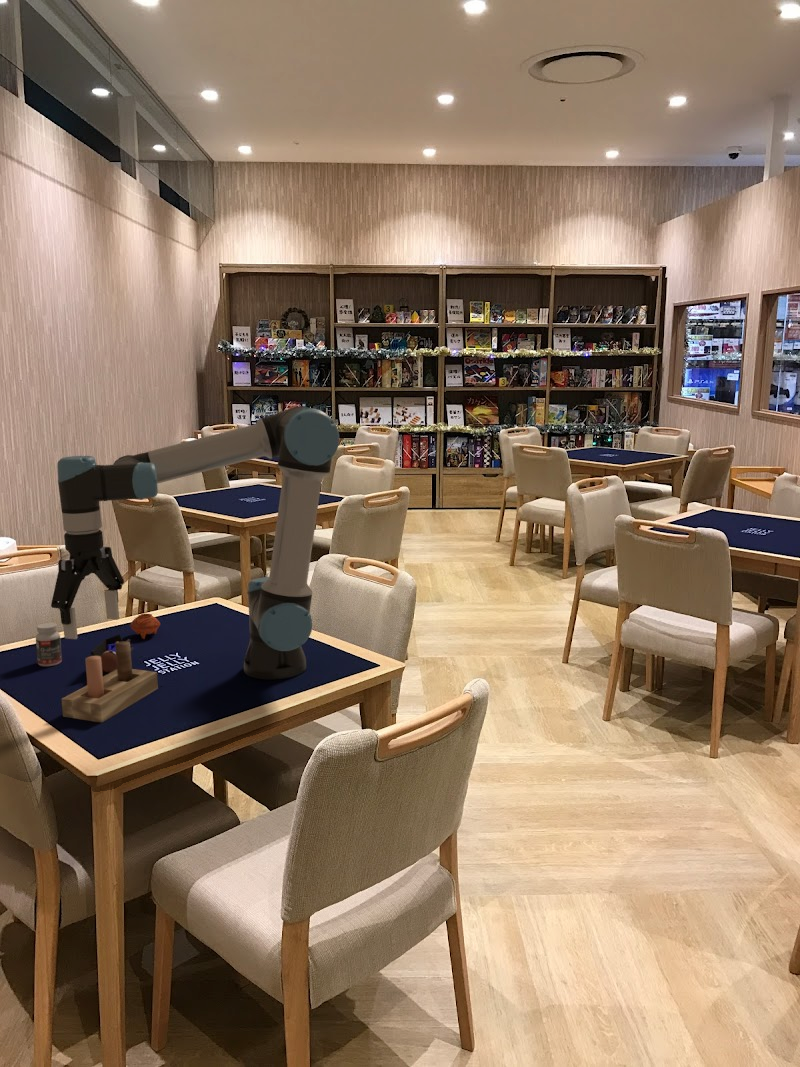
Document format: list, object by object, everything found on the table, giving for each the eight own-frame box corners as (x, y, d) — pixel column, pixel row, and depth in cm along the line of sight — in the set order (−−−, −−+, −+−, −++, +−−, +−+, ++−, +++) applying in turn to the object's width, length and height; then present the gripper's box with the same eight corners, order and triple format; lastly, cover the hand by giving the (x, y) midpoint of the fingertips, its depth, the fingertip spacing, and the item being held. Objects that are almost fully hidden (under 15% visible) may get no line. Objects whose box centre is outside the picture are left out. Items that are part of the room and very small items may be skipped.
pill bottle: (42, 668, 212) (38, 630, 210) (34, 662, 216) (31, 624, 214) (65, 663, 215) (62, 625, 213) (58, 657, 220) (54, 620, 218)
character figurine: (137, 659, 219) (116, 682, 204) (109, 657, 219) (86, 679, 204) (138, 630, 217) (116, 650, 202) (109, 628, 217) (86, 648, 202)
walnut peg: (136, 692, 196) (133, 642, 194) (127, 697, 193) (124, 646, 191) (124, 690, 197) (121, 640, 195) (116, 695, 195) (112, 645, 192)
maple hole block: (157, 688, 198) (156, 672, 198) (101, 722, 180) (100, 704, 179) (121, 683, 202) (120, 667, 201) (63, 716, 183) (61, 698, 182)
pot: (123, 638, 234) (124, 613, 234) (142, 636, 241) (143, 612, 241) (147, 640, 231) (148, 615, 231) (165, 638, 238) (166, 614, 238)
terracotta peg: (108, 708, 187) (104, 656, 185) (98, 714, 184) (94, 661, 182) (96, 706, 188) (91, 655, 186) (86, 712, 185) (82, 660, 183)
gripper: (106, 518, 191) (115, 610, 195) (24, 542, 168) (36, 645, 172) (134, 520, 189) (143, 612, 193) (55, 544, 166) (67, 648, 170)
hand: (92, 628), depth 183 cm, fingers open, 13 cm apart
